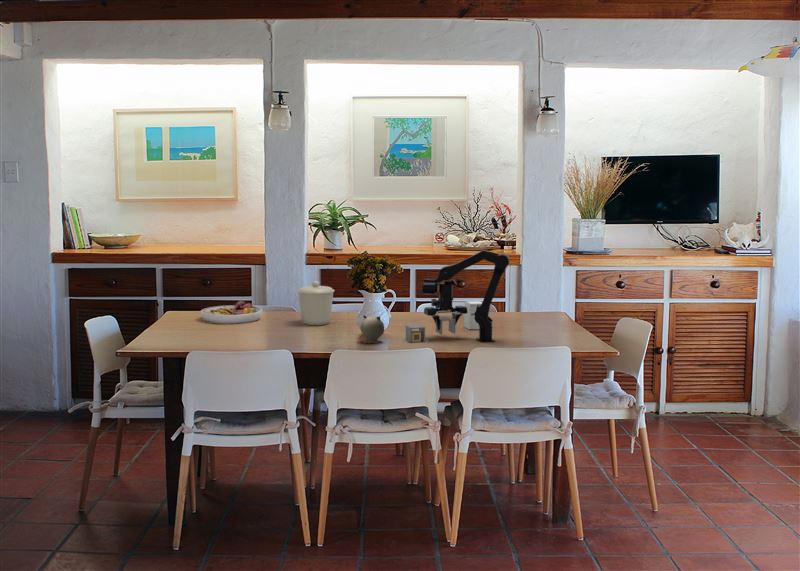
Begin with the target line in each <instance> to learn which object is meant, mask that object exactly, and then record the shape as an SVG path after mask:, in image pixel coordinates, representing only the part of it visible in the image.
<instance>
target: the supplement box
mask: <svg viewBox="0 0 800 571" xmlns="http://www.w3.org/2000/svg"><path fill="white" fill-rule="evenodd" d="M482 302H483V301H480V300H478V301H477V300H475V301H473V300H472V301H471V300H469V301H465V302H464V306H465V307H466V308H467V310H468V313H467V314H464V327H463V328H465V327H466V329H467V328H468V329H467V330H469V329H471V330H479V324H478V323H477V322H476V321H475V318H474V317H475V315H474V313H475V311H476V308H477V305H478V304H479V305H481V304H482Z"/></svg>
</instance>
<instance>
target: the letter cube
mask: <svg viewBox="0 0 800 571" xmlns="http://www.w3.org/2000/svg"><path fill="white" fill-rule="evenodd" d="M415 342H417V343H418V342H422V340H421V332H419V330H412V343H415Z"/></svg>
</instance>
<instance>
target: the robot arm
mask: <svg viewBox="0 0 800 571" xmlns="http://www.w3.org/2000/svg"><path fill="white" fill-rule="evenodd" d="M481 261H487V262H489V263H492V264H494V269H493V273H492V276H491V279H490V282H489V285H488V287H487V289H486V293H485V295H484V298H483V301H481V302H482V304H481V305H479V304H478V305H477V308H476V311H475V313H474V315H475V317H474V318H475V321H476V322H477V323H478V324H479V329H478V330H479V331H478V337H476V340H477V341H479V340H480V341H479V342H481V343H485V341H489V342H495V341H496V339H494V338H493V323H494V320H493V319H492V318H491V317H490V316H489V315H490V309H491V306H492V304H491V303H492V302H493V299H494V297H495V293H496V291H497V288H498V285H499V283H500V280H501V277H502V275H503V274H504V272H505V271H506V269H507V268H508V266H509V264H510V256H509V255H508V254H506V253H500V254H499V253H497V252H493V251H490V250H486V249H481V250H480V251H479V252H476V253H475V254H473V255H471V256H469V257H467V258H464V259H463V260H461V261H459V262H456V263H452V264H449V265H448V264H447V265H445V266H443V267H442V268H441V269H440V270H439V273H438V276H437V277H436V278H435V279H429V278H424V279H423V281H422V287H421V288H422V289H421V292H422V295H433V296H434V295H437V293H439V295H438V299H436V298H431V300H430V301H431V303H430V304H431V306H427V307H424V309H423V314H425V315H426V316H430V317H432V320H433V321H434V323H435V328H436V327H437V330H439V317H440V315H439V314H442V313H444V314H445V313H451V315H452V318H454V319H455V326H456V325H457V323H458V321H459V319H460V318H461V317H462V316H463V315H465V314H467V313H468V310H467V308H466V307H465V305H456V306H455V307H454V306H453V301H454V297H453V289H454V288H453V286H457V285H458V282H456V281H455V279H452V278H453V277H454V276H456V275H457V274H458V273H460V272H461V271H463V270H466V269H467V268H469V267H472V266H473V265H475V264H478V263H479V262H481ZM451 279H452V280H451ZM443 281H444V282H443Z"/></svg>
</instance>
